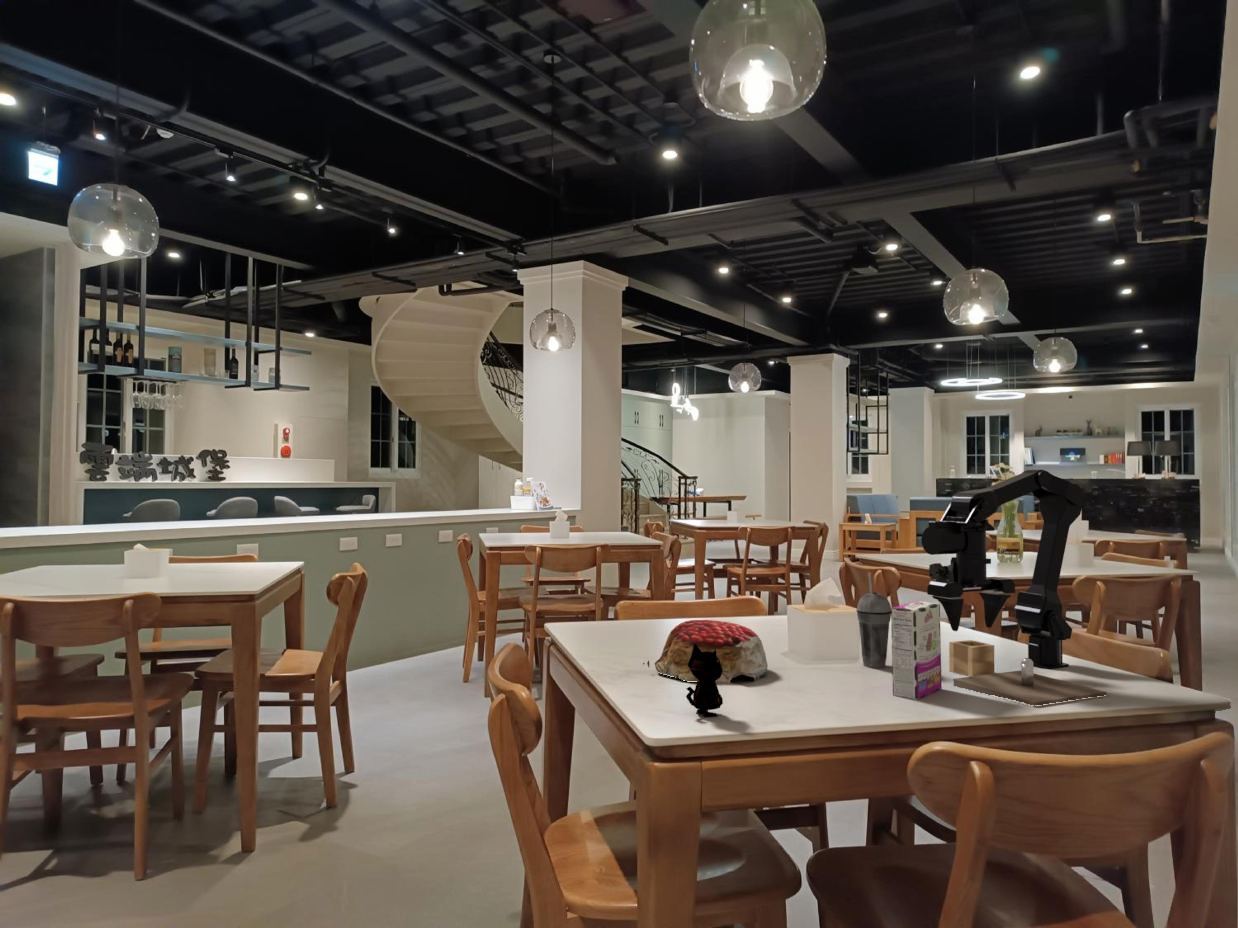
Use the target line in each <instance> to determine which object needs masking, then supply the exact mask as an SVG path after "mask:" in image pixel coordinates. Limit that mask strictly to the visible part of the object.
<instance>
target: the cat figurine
mask: <svg viewBox="0 0 1238 928" xmlns="http://www.w3.org/2000/svg"><path fill="white" fill-rule="evenodd" d="M688 667H689V669H690V671H691V673H692V674H693V675H694V676H695V677H696V678H697V679H698V680H699V681H697V683H696V684H695V685H696V686H695V687H694V689H693V688H692V687H691V686H688V687H686V688H685V689H686V691H688V693H687V695H686V696H685V697H686V699H687V701H688V702H689V704H690V705H691V706H693V707H694V708H695V709H697V710H696V713H695V714H696V715H703V717H704V718H715V717H716V718H717V717H719V716H718V714H717V713H716V712H713V710H716V709H717V710H718V709H720V708H721V706H722V705H723V704H724V701H723V696H722V695H721V694H720V691H719V688H718V684H717V682H715V681H716V680H717V679H719V678H720V677H721V674H722V672H726V671H723V669H722V664H720V660H719V659H718V657H717V655H716V649H715V651H714V652H708V651H705V652H702V651H701V650H700V649H699V648H698V646H697V645H696V644H694V647H693V651H692V654H691V658H690V660H689V663H688ZM723 674H724V673H723ZM724 675H725V674H724ZM725 676H726V675H725ZM726 677H727V676H726ZM727 678H728V677H727ZM728 680H729V679H728ZM711 710H712V712H710V711H711Z"/></svg>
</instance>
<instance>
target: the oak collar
mask: <svg viewBox="0 0 1238 928" xmlns="http://www.w3.org/2000/svg"><path fill="white" fill-rule="evenodd" d="M948 643H949V644H948V645H949V647H948V649H949V650H948V651H949V652H948V653H949V655H948V657H949V658H948V659H949V660H948V663H949V665H948V667H949V672H951V673H955V674H959V675H962V676H964V677H972V676H980V675H988V674H996V673H995V645H994V644H991V643H990V644H989V643H986V642H983V641H982V642H981V641H978V640H973V639H968V640H966V639H965V640H959V641H958V640H957V641H948Z"/></svg>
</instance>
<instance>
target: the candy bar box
mask: <svg viewBox="0 0 1238 928" xmlns="http://www.w3.org/2000/svg"><path fill="white" fill-rule="evenodd" d="M890 622H891V651H892V652H891V655H892V656H891V658H892V659H891V661H892V664H891V665H892V666H891V667H892V696H893V697H899V698H904V697H905V698H906V699H909V700H915V701H916V700H917V701H918V700H920V699H922V698H924V697H927V696H929V695H932V694H934V693H936V692H939V691H940V690H942V689H943V686H942V649H941V647H942V646H941V643H942V642H941V641H942V640H941V639H942V638H941V603H940V602H933V601H932V602H931V601H922V600H915V601H912V602H908V603H904V604H901V605H898V606H893V607H891V619H890ZM926 695H927V696H926Z"/></svg>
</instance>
